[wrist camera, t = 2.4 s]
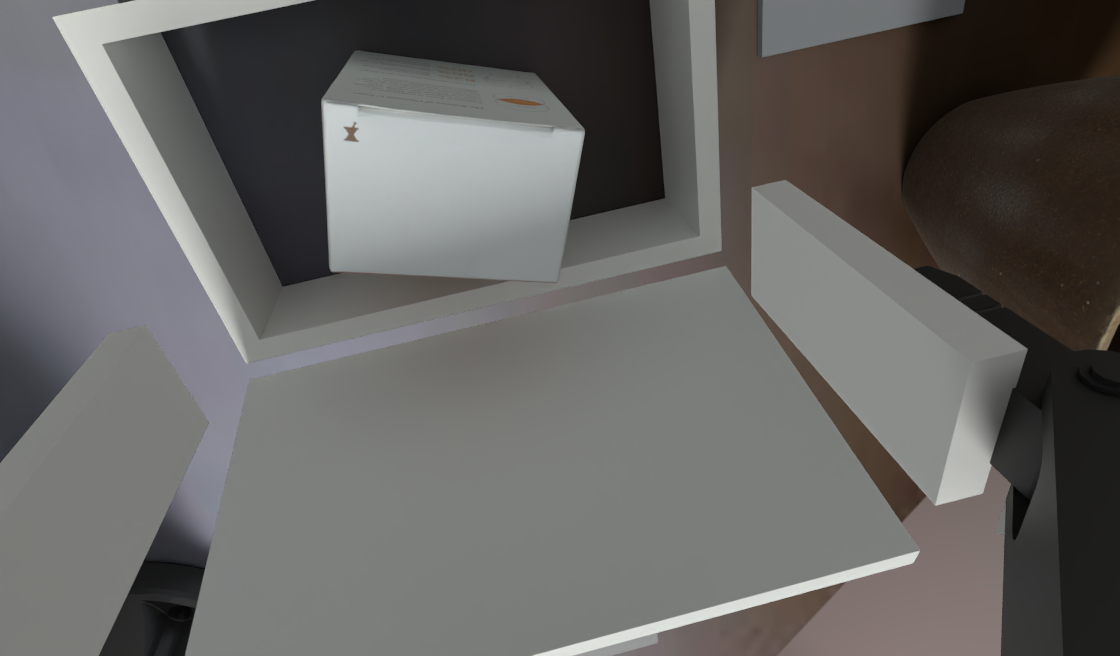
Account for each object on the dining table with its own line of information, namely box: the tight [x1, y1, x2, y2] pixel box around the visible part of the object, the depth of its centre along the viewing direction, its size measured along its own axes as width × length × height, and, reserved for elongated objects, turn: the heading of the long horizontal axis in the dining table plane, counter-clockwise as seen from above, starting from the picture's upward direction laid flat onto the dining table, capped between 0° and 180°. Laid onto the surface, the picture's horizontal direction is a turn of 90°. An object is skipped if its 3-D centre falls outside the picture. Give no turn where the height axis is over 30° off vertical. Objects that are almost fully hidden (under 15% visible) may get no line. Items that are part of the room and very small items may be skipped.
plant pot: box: [902, 75, 1120, 353], centre depth 28 cm, size 15×15×16 cm
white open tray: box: [52, 0, 722, 363], centre depth 26 cm, size 22×14×5 cm, turn 99°
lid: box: [185, 266, 920, 656], centre depth 23 cm, size 22×14×2 cm
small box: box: [321, 50, 585, 283], centre depth 24 cm, size 8×6×10 cm
